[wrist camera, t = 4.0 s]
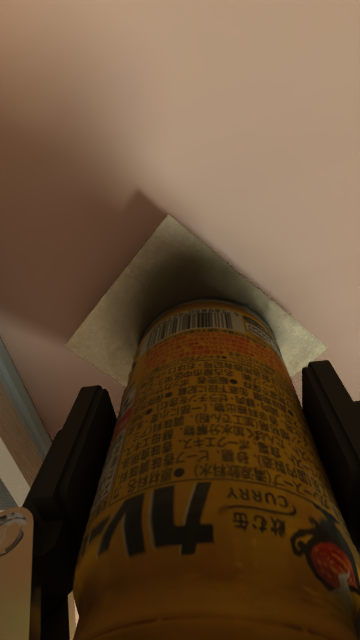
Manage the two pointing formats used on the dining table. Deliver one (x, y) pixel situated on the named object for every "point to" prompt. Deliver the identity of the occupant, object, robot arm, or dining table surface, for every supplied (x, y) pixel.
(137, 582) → the condiment
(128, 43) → the dining table surface
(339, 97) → the dining table surface
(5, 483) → the board
